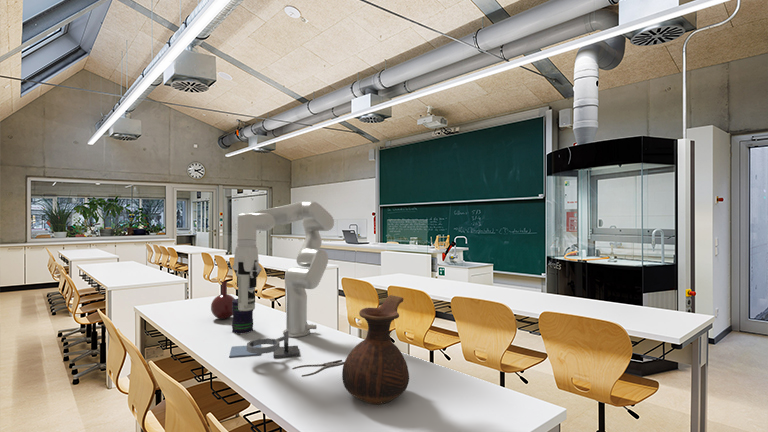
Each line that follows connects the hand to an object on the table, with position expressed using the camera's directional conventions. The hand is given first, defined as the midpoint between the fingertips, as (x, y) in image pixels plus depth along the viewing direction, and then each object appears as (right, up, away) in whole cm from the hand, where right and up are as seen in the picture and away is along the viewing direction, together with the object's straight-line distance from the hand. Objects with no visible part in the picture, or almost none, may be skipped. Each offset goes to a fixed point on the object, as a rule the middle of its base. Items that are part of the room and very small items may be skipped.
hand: (246, 286), depth 172 cm
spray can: (0, -10, 0) cm, 10 cm away
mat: (0, -27, 0) cm, 27 cm away
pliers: (+32, -28, -16) cm, 46 cm away
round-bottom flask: (-30, -27, +52) cm, 66 cm away
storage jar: (-12, -27, +30) cm, 42 cm away
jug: (+55, -28, -39) cm, 73 cm away
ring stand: (+13, -27, -7) cm, 31 cm away
